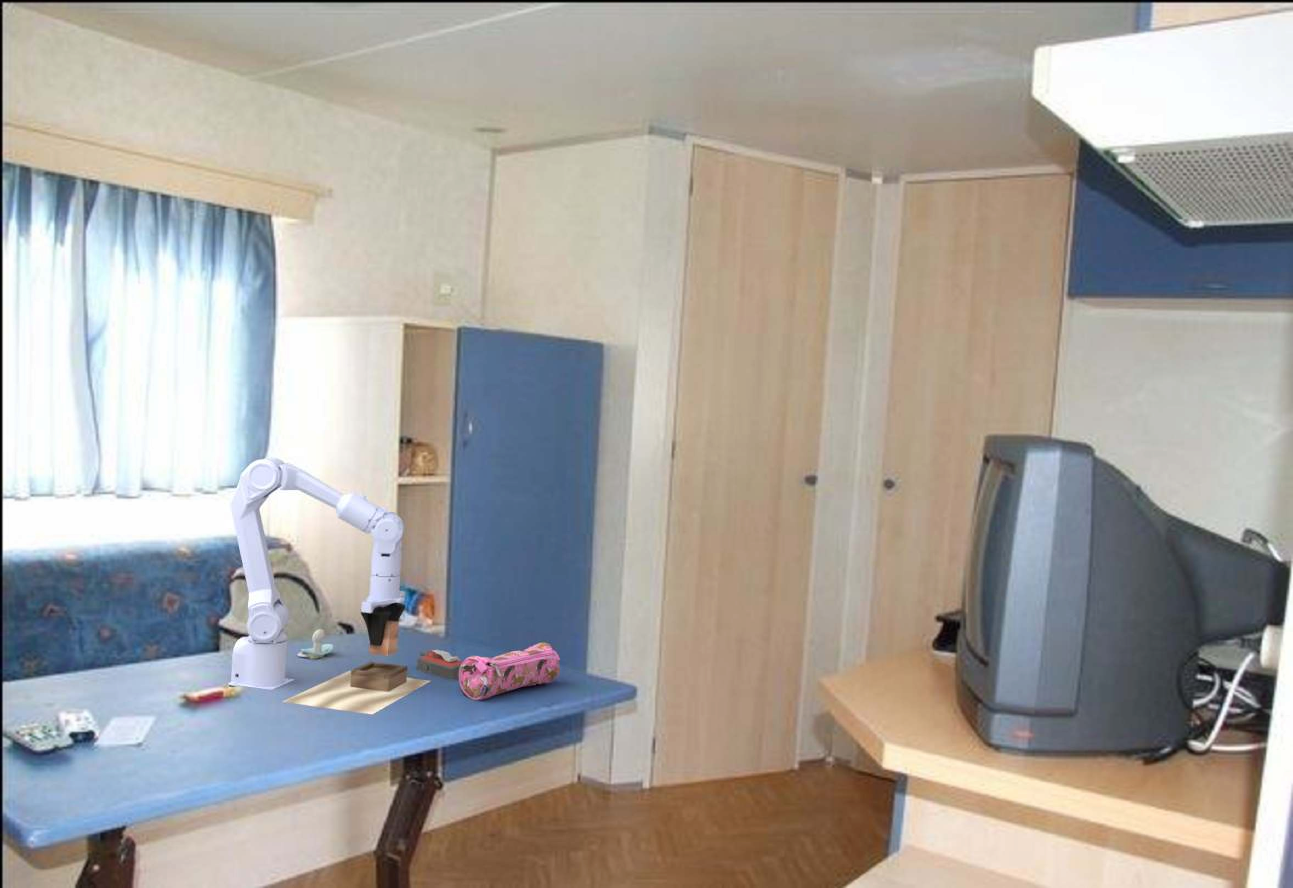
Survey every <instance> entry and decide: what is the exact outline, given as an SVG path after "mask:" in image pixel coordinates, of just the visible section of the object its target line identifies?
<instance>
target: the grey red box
mask: <svg viewBox="0 0 1293 888" xmlns="http://www.w3.org/2000/svg"><path fill="white" fill-rule="evenodd" d="M418 654H419V657H418V658H417V660H416V661H417V662H416V671H419V672H423V673H425V674H429V675H433V676H436V677H439V678H441V679H445V680H449V681H456V680H459V669H460V666H461V664H462V663H463V661H464V660H461V659H460V658H459V657H458V656H452V655H451V654H450V652H448V651H444V650H441V649H434V650H429V651H428V652H426V651H423V650H421V651H419V653H418ZM455 679H456V680H455Z"/></svg>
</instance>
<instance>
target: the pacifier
mask: <svg viewBox="0 0 1293 888" xmlns="http://www.w3.org/2000/svg"><path fill="white" fill-rule="evenodd" d="M325 634H326V633H325V631H324V630H323V629H322V628H319V629H317V630H316V631H314V633H313V635H312V637H311V641H312V643H313V647H309V648H301V649H300V652H299V653H298V654H297V656H298V657H301V658H308V657H309V658H308V659H317V658H318V659H319V657H320V658H323V657H324V656H325V655H327V654H330V653H331V652H332V651H333V649H334V645H333V644H332V643H325V644H323V640H324V639H325Z"/></svg>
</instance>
